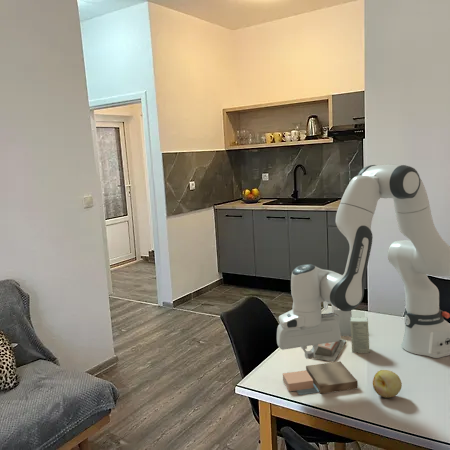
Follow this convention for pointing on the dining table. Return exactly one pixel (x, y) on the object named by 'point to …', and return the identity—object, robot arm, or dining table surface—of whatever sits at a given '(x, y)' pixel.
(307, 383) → the terracotta tile
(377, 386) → the fruit
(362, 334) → the skincare box
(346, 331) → the grey block
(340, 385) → the walnut stand
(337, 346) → the packaged product
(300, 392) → the slate mat
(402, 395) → the dining table surface
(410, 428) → the dining table surface
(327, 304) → the figurine
